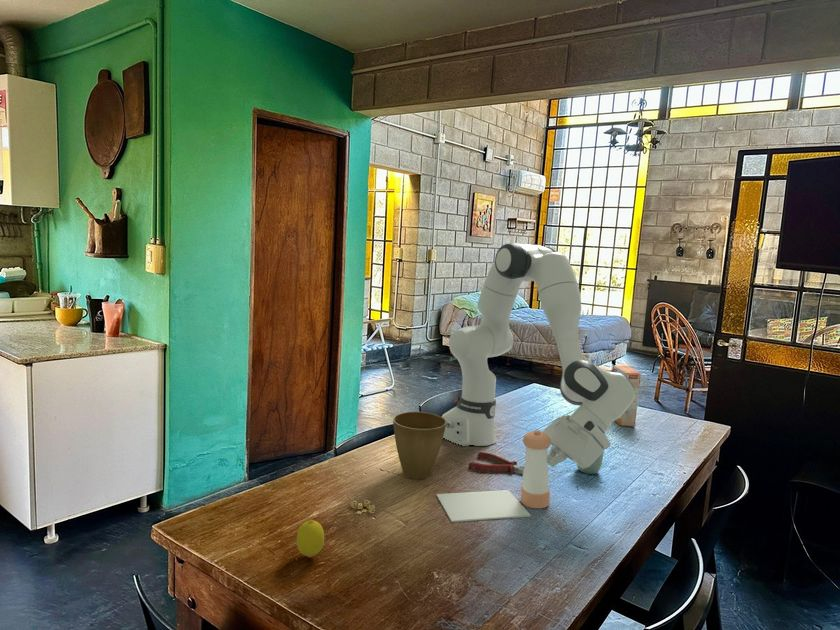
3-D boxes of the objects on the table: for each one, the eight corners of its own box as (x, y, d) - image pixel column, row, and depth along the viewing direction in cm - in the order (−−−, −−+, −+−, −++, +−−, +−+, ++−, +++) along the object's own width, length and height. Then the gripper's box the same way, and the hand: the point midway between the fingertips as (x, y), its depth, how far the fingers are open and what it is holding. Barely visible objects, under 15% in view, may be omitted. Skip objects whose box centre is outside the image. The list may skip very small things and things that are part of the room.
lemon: (298, 549, 115) (298, 513, 114) (324, 549, 116) (326, 513, 115) (294, 564, 110) (295, 527, 109) (322, 564, 110) (323, 527, 109)
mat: (508, 491, 148) (508, 489, 148) (530, 516, 135) (530, 515, 135) (436, 495, 144) (436, 494, 144) (451, 522, 130) (451, 520, 130)
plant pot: (379, 472, 156) (382, 418, 154) (415, 459, 167) (418, 408, 165) (418, 490, 146) (421, 432, 144) (453, 475, 157) (457, 421, 155)
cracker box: (636, 427, 210) (641, 373, 207) (620, 426, 210) (625, 372, 207) (623, 416, 224) (628, 365, 221) (608, 415, 224) (613, 364, 221)
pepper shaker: (518, 505, 141) (519, 433, 138) (523, 493, 147) (525, 424, 145) (547, 510, 138) (549, 437, 135) (551, 498, 145) (554, 427, 142)
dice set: (350, 508, 136) (350, 500, 136) (370, 506, 138) (370, 498, 137) (354, 518, 131) (354, 510, 131) (375, 515, 133) (375, 508, 133)
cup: (603, 478, 160) (606, 445, 159) (575, 474, 162) (578, 441, 161) (600, 468, 168) (603, 436, 167) (573, 464, 169) (576, 433, 168)
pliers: (535, 485, 154) (536, 476, 154) (467, 470, 162) (467, 462, 162) (543, 471, 165) (544, 462, 164) (478, 458, 172) (479, 450, 172)
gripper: (559, 405, 152) (523, 441, 151) (600, 430, 133) (559, 471, 131) (572, 421, 154) (537, 456, 153) (614, 447, 134) (575, 488, 133)
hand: (548, 463), depth 142 cm, fingers closed
